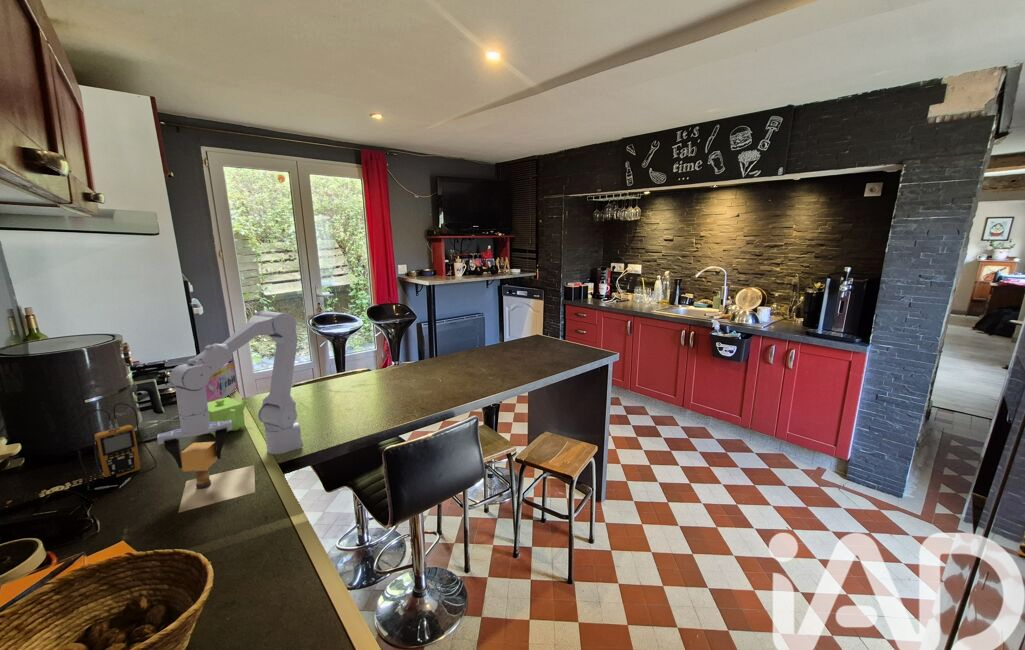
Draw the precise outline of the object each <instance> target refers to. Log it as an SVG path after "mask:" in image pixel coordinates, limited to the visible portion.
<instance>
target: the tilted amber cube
mask: <svg viewBox="0 0 1025 650" xmlns="http://www.w3.org/2000/svg"><path fill="white" fill-rule="evenodd" d="M180 455H181V462H182V468H181V469H182V472H197V471H199V470H207V469H208V470H209V468H210V467H211V466H213V464H215V463H216V461H218V460H219V459H217V445H216V441H205V442H204V441H203V442H192V443H191V444H190V445H188V446H187V447H186V448H185V449H184V450H182V451H181V453H180Z"/></svg>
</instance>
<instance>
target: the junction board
mask: <svg viewBox="0 0 1025 650" xmlns="http://www.w3.org/2000/svg"><path fill="white" fill-rule="evenodd" d="M255 480H256V478H255V465H254V464H253V465H249V466H245V467H240V468H237V469H231V470H228V471H224V472H219V473H214V474H210V472H209V468H208V469H207V470H198V471H195V478H192V479H189V480H186V482H185V486H184V489H183V492H182V493H183V494H182V497H181V500H180V501H181V502H180V505H179V508H178V511H177V512H178V514H179V513H182V512H186V511H190V510H194V509H197V508H202V507H206V506H208V505H209V506H210V505H213V504H217V503H220V502H223V501H224V502H225V501H227V500H231V499H235V498H238V497H239V498H240V497H243V496H246V495H250V494H254V493H256V483H255V482H256V481H255Z"/></svg>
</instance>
